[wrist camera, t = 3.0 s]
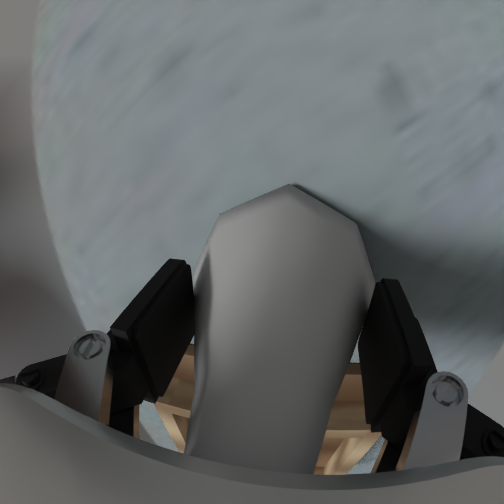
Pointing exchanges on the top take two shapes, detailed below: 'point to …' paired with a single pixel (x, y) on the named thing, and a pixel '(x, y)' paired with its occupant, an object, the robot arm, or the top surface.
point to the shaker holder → (337, 433)
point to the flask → (274, 330)
